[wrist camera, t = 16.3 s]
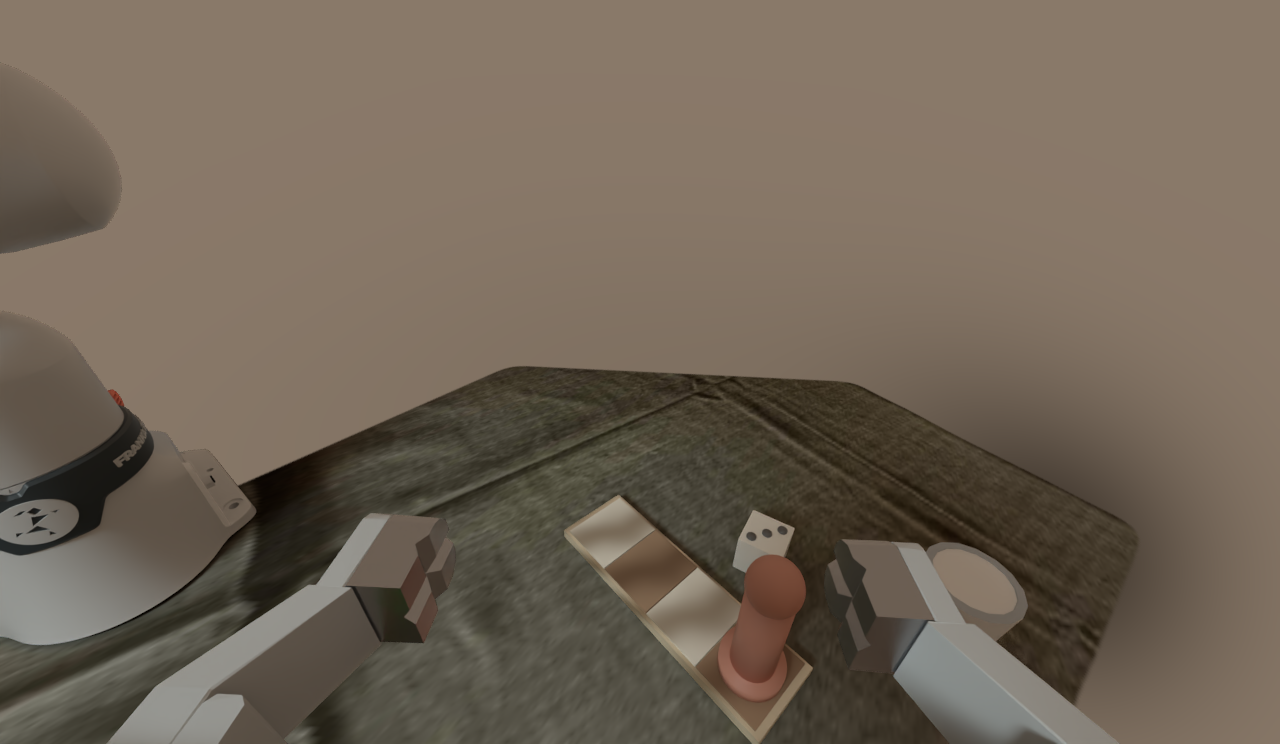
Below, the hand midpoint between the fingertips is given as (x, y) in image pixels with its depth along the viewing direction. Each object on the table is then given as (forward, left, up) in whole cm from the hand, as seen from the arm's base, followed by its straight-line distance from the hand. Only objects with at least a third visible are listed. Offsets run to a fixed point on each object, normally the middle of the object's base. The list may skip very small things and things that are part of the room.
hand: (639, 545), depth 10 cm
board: (-10, +14, -30) cm, 35 cm away
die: (-7, +23, -30) cm, 39 cm away
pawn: (-2, +14, -29) cm, 32 cm away
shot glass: (+7, +29, -30) cm, 43 cm away
